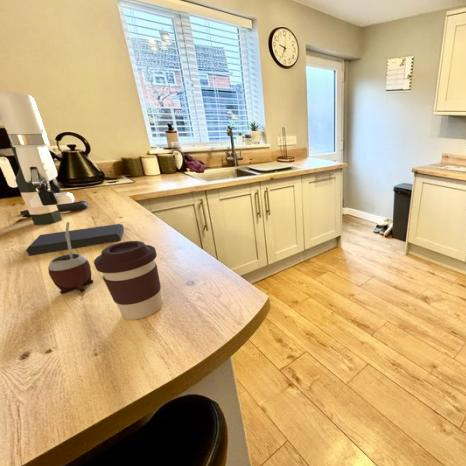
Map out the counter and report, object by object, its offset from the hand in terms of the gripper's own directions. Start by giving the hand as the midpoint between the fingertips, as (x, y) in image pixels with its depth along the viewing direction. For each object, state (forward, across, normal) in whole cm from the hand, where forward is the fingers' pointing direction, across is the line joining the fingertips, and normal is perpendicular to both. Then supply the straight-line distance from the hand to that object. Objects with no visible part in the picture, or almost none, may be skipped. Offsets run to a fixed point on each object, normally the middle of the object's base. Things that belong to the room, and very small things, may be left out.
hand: (53, 201), depth 88 cm
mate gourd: (+14, +34, +9) cm, 38 cm away
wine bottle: (+14, -31, -13) cm, 37 cm away
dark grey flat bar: (+14, -1, +3) cm, 14 cm away
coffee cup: (+14, +53, +23) cm, 59 cm away
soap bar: (+1, 0, 0) cm, 1 cm away
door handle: (+15, -48, -13) cm, 51 cm away
